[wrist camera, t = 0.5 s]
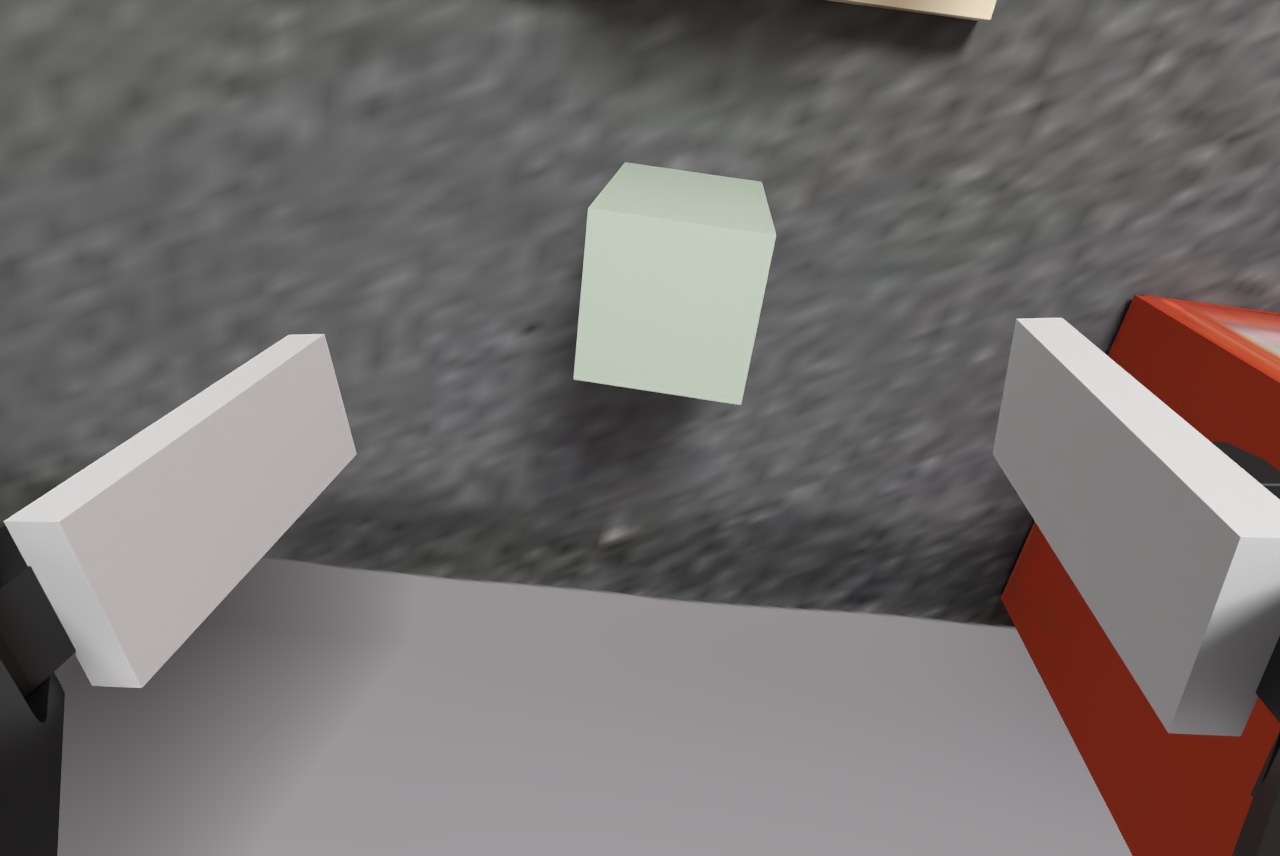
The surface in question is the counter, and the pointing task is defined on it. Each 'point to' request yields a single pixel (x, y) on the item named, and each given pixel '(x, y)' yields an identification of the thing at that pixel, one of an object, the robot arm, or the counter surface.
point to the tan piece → (936, 7)
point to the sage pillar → (673, 282)
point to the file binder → (1075, 641)
